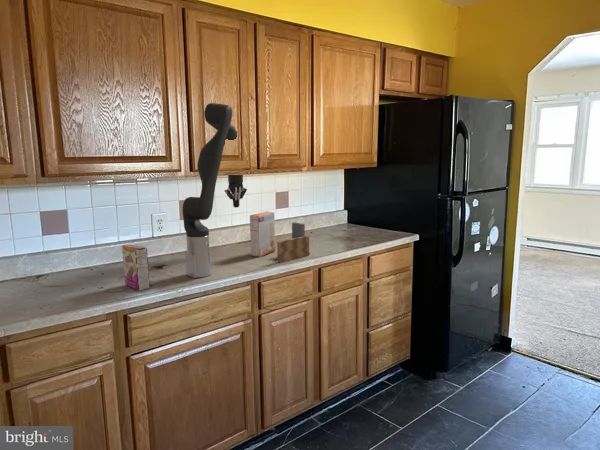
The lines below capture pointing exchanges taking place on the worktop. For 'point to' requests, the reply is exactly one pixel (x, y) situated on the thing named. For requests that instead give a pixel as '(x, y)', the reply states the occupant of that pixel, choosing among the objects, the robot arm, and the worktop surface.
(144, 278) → the candy bar box
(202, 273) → the robot arm
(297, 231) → the bookend
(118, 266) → the worktop surface
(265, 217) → the cracker box
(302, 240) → the shelf wall
